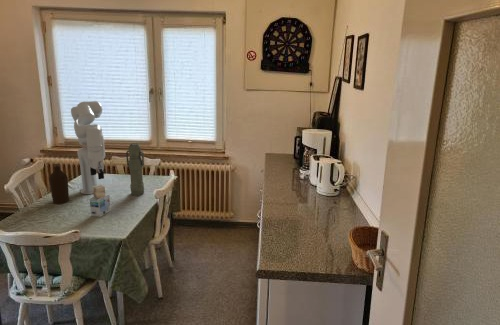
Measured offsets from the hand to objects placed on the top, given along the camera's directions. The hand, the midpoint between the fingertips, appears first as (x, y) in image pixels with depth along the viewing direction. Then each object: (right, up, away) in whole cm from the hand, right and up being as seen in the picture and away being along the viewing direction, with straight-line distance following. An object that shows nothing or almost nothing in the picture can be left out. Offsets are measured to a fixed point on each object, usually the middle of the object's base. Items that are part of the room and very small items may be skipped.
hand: (97, 176), depth 217 cm
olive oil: (-33, -17, +23) cm, 44 cm away
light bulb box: (0, -22, +5) cm, 23 cm away
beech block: (0, -12, +3) cm, 12 cm away
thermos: (+12, -13, +40) cm, 44 cm away
